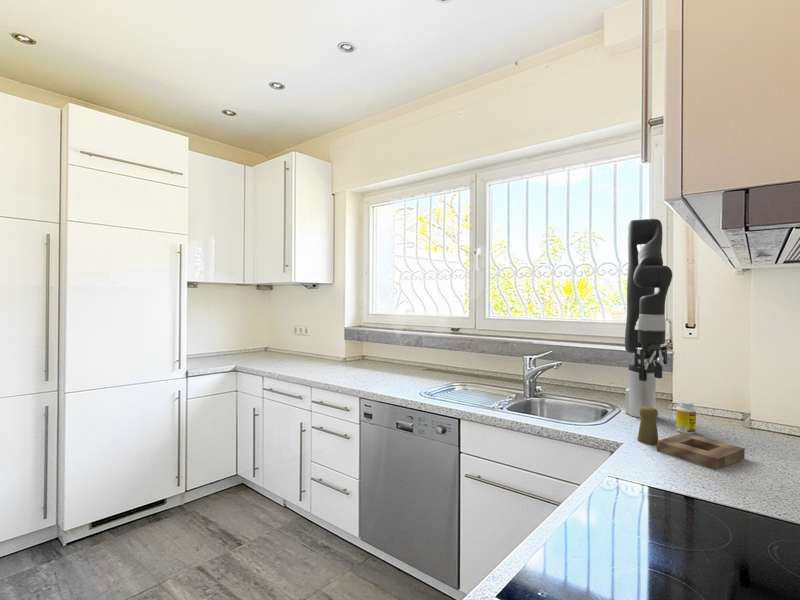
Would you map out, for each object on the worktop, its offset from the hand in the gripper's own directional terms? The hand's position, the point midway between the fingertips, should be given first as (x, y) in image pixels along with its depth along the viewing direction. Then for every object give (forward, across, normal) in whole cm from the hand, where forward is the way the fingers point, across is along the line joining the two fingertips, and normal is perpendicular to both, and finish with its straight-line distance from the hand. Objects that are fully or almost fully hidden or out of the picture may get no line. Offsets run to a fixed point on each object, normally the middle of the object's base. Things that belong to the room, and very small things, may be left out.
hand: (650, 379), depth 137 cm
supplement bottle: (+20, -21, 0) cm, 29 cm away
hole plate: (+20, -2, +14) cm, 24 cm away
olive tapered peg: (+20, 0, 0) cm, 20 cm away
